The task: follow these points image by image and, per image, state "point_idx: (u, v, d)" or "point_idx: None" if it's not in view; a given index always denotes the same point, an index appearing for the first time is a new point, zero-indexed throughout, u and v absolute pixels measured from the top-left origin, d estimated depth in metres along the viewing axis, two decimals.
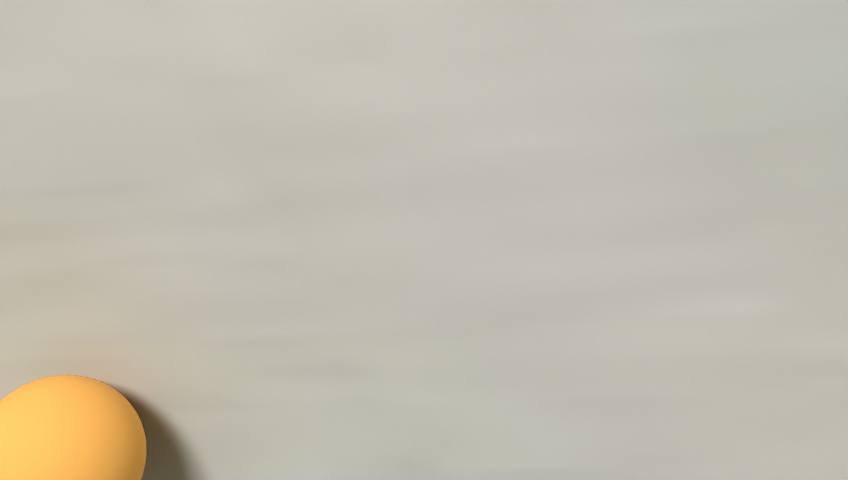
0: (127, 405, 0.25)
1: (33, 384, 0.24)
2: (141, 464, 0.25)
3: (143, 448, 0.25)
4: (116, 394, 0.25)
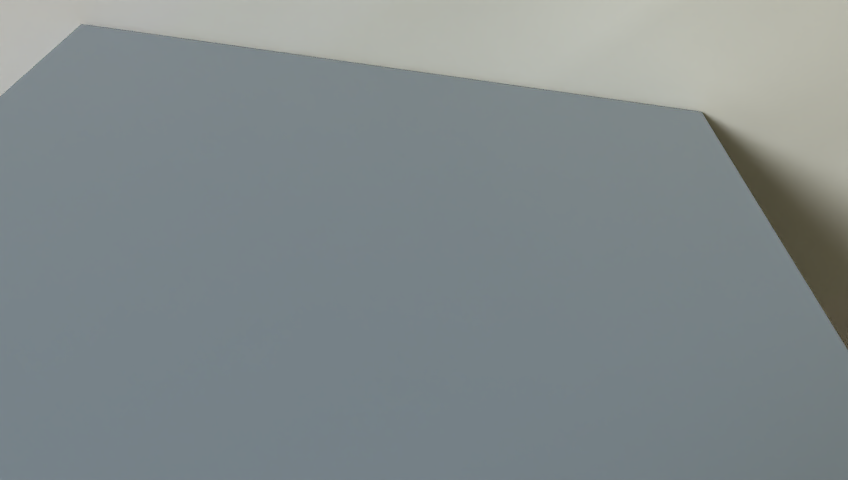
0: None
1: None
2: None
3: None
4: None
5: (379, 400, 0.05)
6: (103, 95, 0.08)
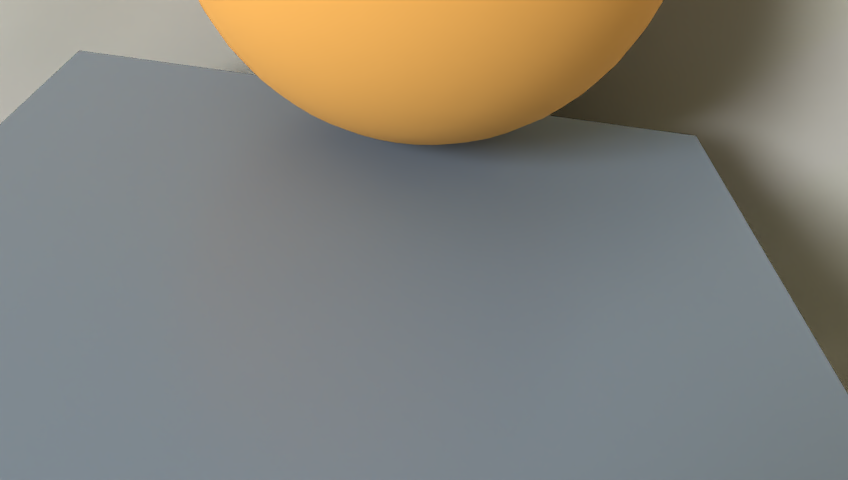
0: None
1: None
2: None
3: None
4: None
5: (373, 437, 0.05)
6: (100, 124, 0.08)
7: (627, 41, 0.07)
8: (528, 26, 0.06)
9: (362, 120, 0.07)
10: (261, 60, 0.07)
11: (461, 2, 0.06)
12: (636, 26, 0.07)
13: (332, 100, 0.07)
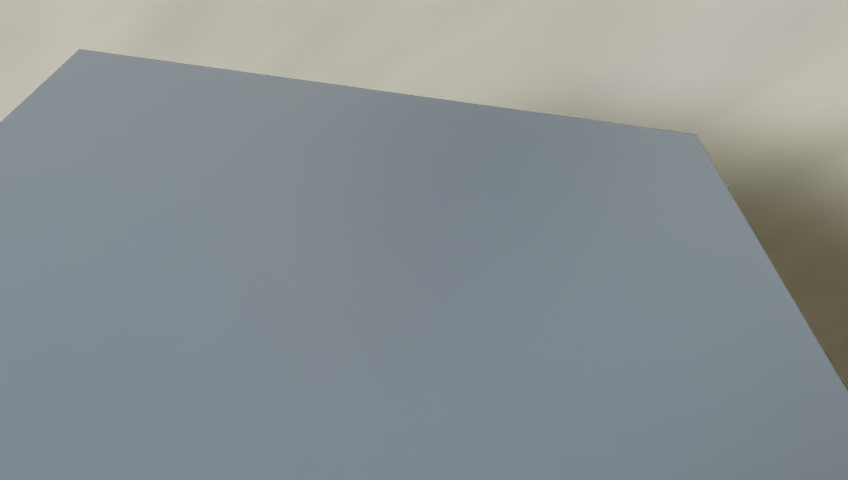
0: None
1: None
2: None
3: None
4: None
5: (373, 434, 0.05)
6: (100, 122, 0.08)
7: None
8: None
9: None
10: None
11: None
12: None
13: None
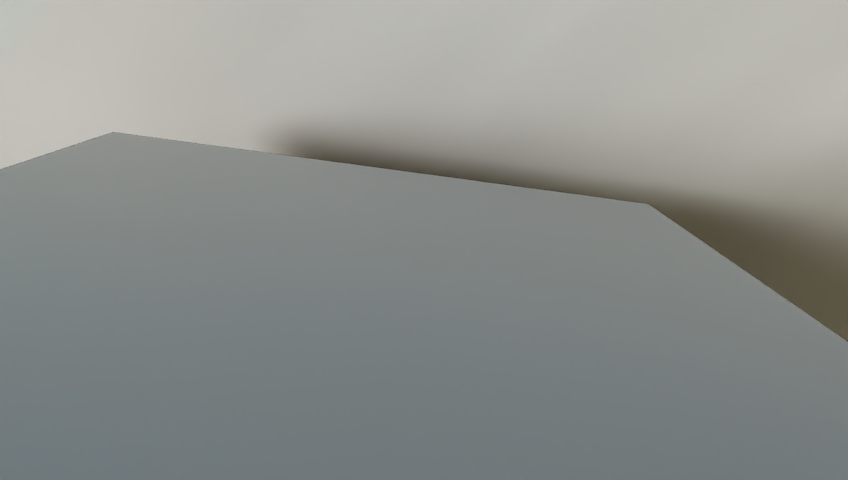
0: None
1: None
2: None
3: None
4: None
5: (390, 291, 0.06)
6: (135, 159, 0.09)
7: None
8: None
9: None
10: None
11: None
12: None
13: None
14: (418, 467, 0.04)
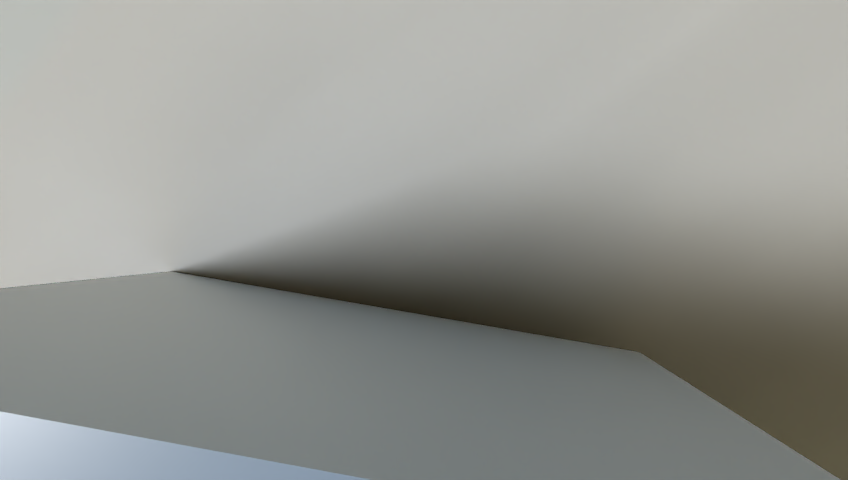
0: None
1: None
2: None
3: None
4: None
5: (370, 366, 0.07)
6: (185, 286, 0.11)
7: None
8: None
9: None
10: None
11: None
12: None
13: None
14: (348, 436, 0.05)
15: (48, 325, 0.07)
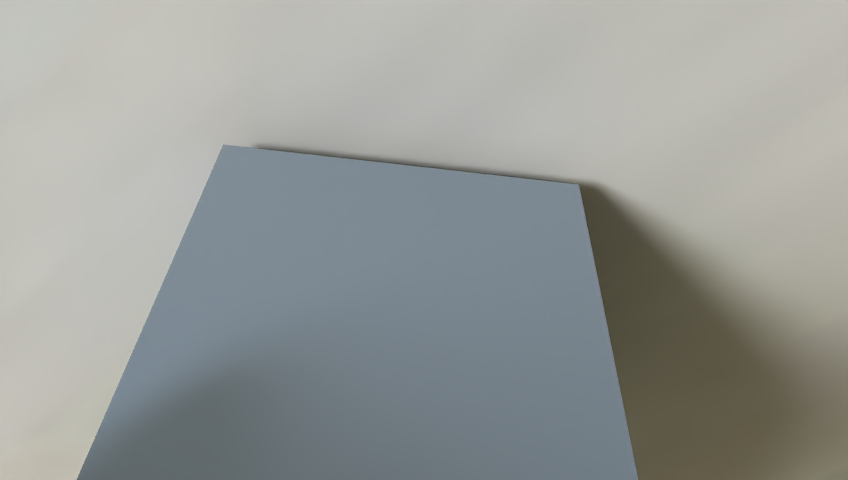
0: None
1: None
2: None
3: None
4: None
5: (392, 356, 0.13)
6: (247, 198, 0.16)
7: None
8: None
9: None
10: None
11: None
12: None
13: None
14: None
15: (215, 374, 0.12)
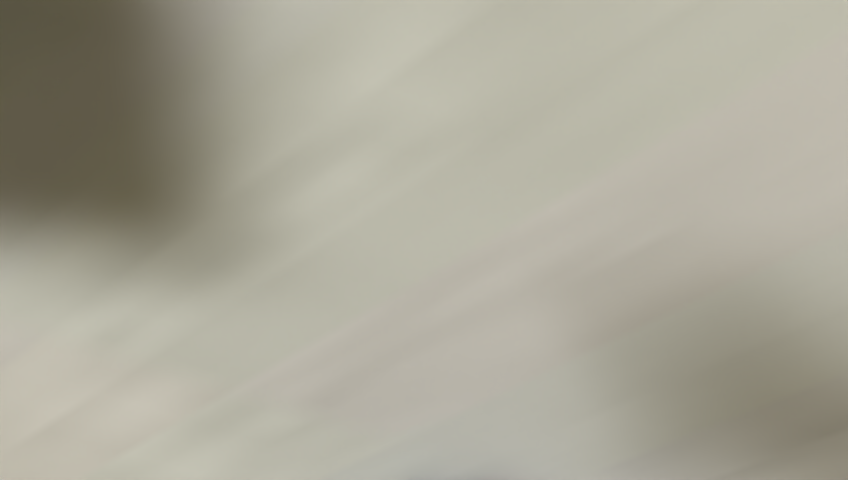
0: None
1: None
2: None
3: None
4: None
5: None
6: None
7: None
8: None
9: None
10: None
11: None
12: None
13: None
14: None
15: None
